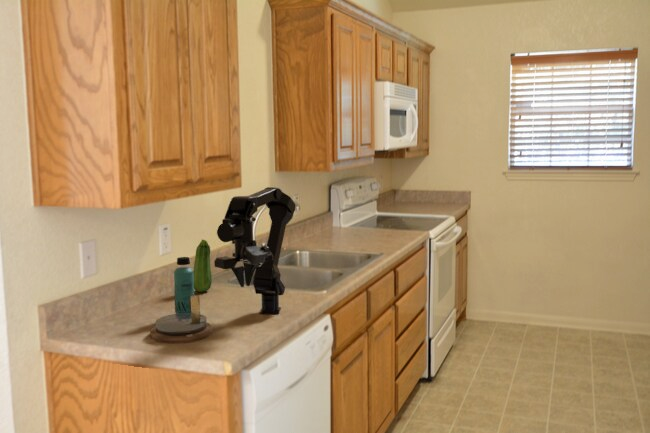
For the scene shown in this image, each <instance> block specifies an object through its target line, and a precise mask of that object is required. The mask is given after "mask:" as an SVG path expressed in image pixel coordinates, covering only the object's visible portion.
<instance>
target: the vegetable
mask: <svg viewBox="0 0 650 433" xmlns="http://www.w3.org/2000/svg"><path fill="white" fill-rule="evenodd" d="M210 255H211V246H210V245H209V242H208V241H207V240H206V239H203V238H202V239H201V241H200V242H199V244H198V246H196V249H195V255H194V256H195V257H194V264H193V278H194V291H195V292H198V293H203V292H206V291H209V290H210V289H211V287H212V280H213V277H212V267H211V256H210Z"/></svg>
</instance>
